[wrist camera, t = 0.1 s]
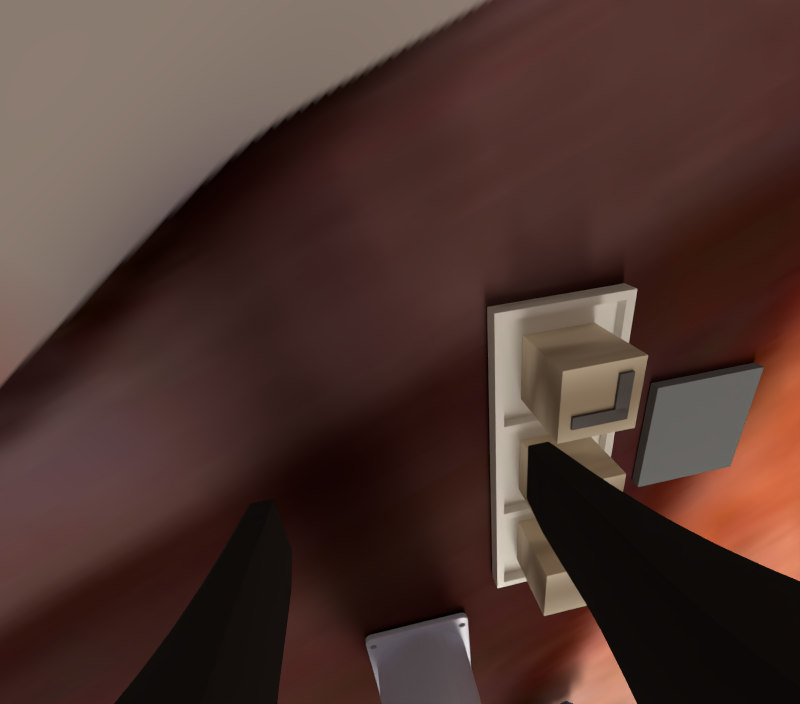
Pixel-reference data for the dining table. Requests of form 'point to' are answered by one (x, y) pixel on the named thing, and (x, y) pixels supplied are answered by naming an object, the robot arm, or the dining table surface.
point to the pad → (694, 423)
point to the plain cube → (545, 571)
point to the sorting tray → (511, 413)
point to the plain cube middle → (580, 451)
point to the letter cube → (581, 381)
